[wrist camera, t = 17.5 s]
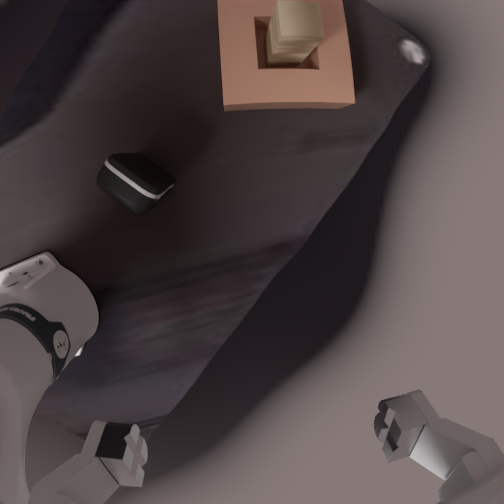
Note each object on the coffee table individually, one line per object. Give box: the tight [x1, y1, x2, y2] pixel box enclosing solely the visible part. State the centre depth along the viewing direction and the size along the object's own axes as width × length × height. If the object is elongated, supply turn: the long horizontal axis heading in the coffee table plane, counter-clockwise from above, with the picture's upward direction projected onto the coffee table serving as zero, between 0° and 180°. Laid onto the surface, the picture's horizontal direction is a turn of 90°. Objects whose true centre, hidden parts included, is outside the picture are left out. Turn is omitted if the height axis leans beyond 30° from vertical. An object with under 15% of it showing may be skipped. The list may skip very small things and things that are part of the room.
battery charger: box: [97, 153, 175, 214], centre depth 33 cm, size 7×4×11 cm, turn 52°
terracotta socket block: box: [217, 0, 355, 112], centre depth 32 cm, size 15×15×6 cm
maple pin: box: [264, 0, 324, 67], centre depth 28 cm, size 4×4×12 cm
